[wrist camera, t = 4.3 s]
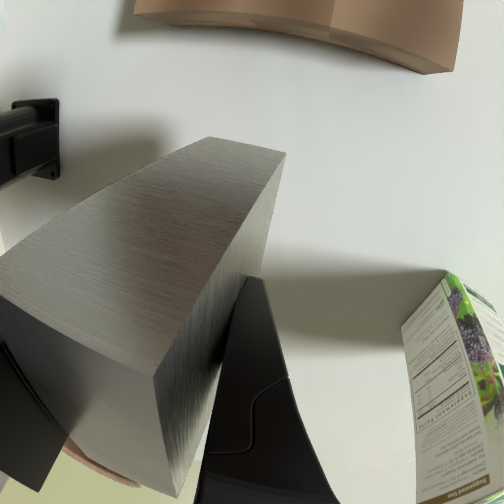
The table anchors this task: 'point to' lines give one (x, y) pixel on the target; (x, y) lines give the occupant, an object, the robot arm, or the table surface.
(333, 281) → the table surface
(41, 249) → the upright grey stone slab
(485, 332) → the syrup box
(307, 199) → the table surface
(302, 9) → the post block
